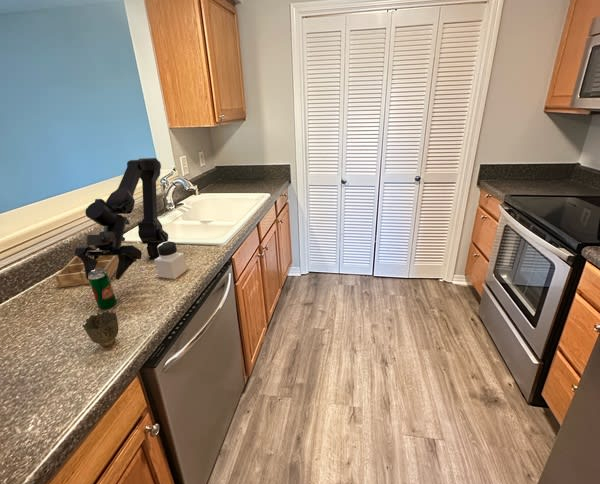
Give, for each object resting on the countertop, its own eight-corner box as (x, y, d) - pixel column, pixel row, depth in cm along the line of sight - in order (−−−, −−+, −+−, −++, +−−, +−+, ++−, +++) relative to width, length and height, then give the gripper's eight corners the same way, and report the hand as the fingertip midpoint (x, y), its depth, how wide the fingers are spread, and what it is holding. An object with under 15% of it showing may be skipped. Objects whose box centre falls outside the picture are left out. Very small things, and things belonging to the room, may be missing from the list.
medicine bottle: (187, 270, 120) (181, 240, 115) (174, 279, 113) (167, 248, 109) (171, 267, 122) (164, 238, 117) (158, 277, 116) (150, 246, 111)
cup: (100, 335, 87) (91, 311, 84) (128, 332, 88) (120, 308, 85) (86, 355, 81) (76, 329, 77) (116, 352, 81) (107, 327, 78)
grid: (122, 261, 129) (119, 250, 127) (109, 280, 115) (105, 269, 113) (78, 266, 127) (74, 256, 125) (59, 287, 112) (54, 276, 110)
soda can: (109, 311, 98) (97, 277, 93) (95, 310, 99) (82, 276, 94) (120, 301, 102) (110, 268, 97) (107, 300, 103) (95, 267, 98)
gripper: (67, 222, 97) (52, 272, 91) (127, 220, 96) (115, 271, 90) (92, 236, 107) (80, 282, 102) (146, 235, 106) (137, 281, 100)
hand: (102, 279), depth 98 cm, fingers open, 9 cm apart
